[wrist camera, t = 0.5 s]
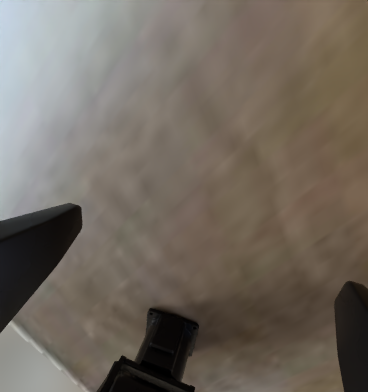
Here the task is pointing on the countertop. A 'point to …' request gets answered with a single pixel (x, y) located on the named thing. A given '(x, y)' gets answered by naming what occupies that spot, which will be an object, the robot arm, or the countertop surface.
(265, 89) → the countertop surface
